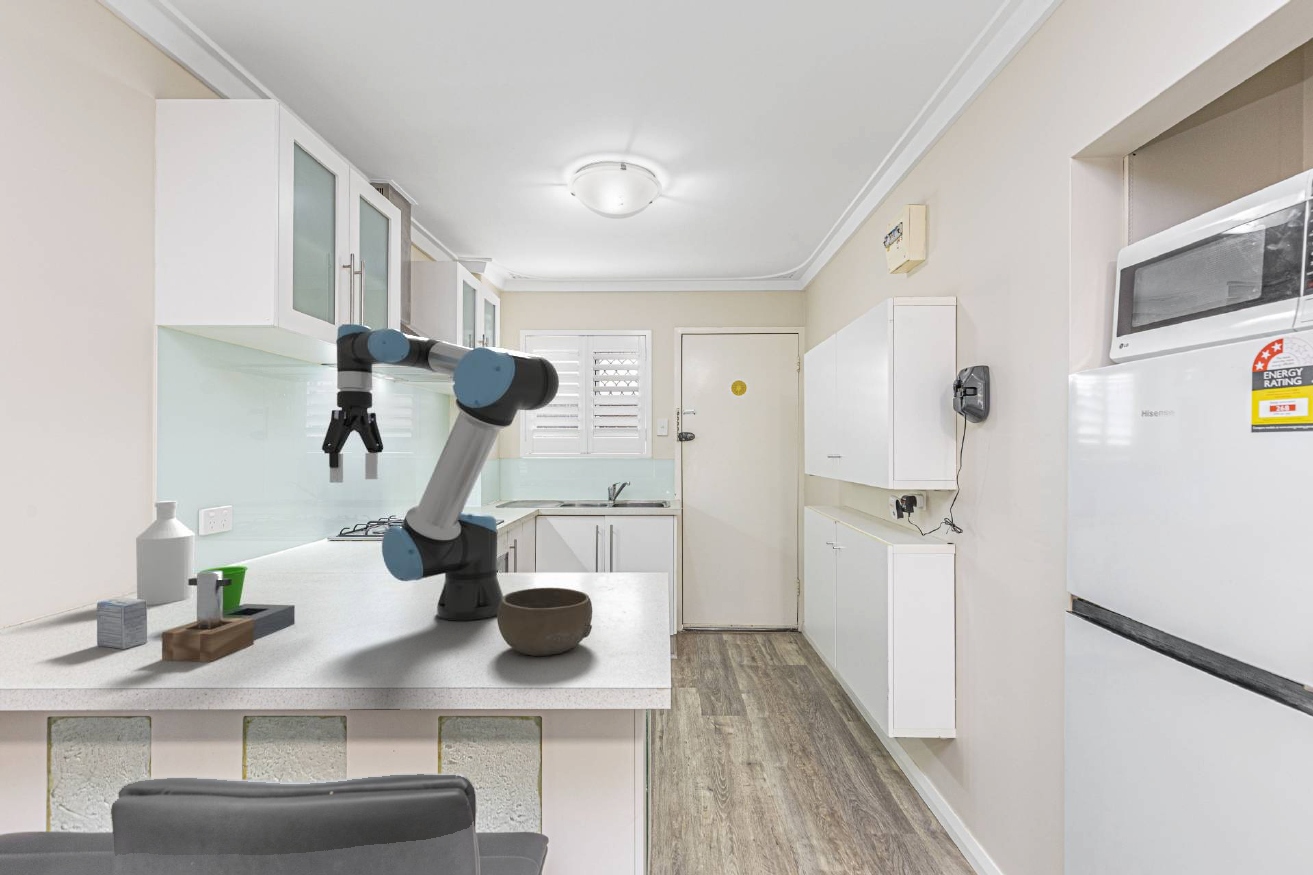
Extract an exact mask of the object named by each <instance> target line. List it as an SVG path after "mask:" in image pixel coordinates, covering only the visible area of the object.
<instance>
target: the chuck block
mask: <svg viewBox="0 0 1313 875" xmlns="http://www.w3.org/2000/svg"><path fill="white" fill-rule="evenodd" d="M295 608H296V606H295V605H294V604H264V603H262V604H259V603H243V604H240V605H239V606H237V607H234V608H231V609H228V610H224V611H223V618H248V619H254V641H256V640H257V639H261V638H263V637H265V636H267V635H269V634H272V633H275V632H277V631H280V630H282V629H284V628H287V627H289V626H292V625H295V622H296V620H295V618H296V617H295V616H296V615H295V614H296V613H295V612H296V611H295V610H296V609H295Z"/></svg>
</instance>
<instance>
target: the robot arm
mask: <svg viewBox="0 0 1313 875" xmlns="http://www.w3.org/2000/svg"><path fill="white" fill-rule="evenodd" d="M335 344H336V371H337V377H336V378H337V380H336V382H337V383H336V386H337V388H336V389H338V390H339V391H337V393H336V406H337V407H338V408H340V409H333V410H332V411H331V414H330V415H331V417H330V421H329V425H328V428H327V431H326V434H325V437H324V439H323V443H322V446H321V450H322V451H323V452H324V454H328V462H329V463H328V466H329V483H333V484H334V483H335V484H339V483H344V453H341V451H342V450H343V447H344V446H345V444H346V442H347V440H348V439H349V437H350V434H351V433H352V432H354V431H355V432H356V433H358V434H359V436H360V439H361V441H362V442H363V445H364V447H365V449H366V451H367V452H365V461H364V462H365V464H364V466H365V474H364V475H365V480H378V459H379V458H378V457H379V456H378V454H379V453H382V452H383V450H384V443H383V440H382V436H381V433H380V430H379V426H378V423H377V414H376V412H368V409H370V408H372V407H373V393H372V392H370V391H372V390H373V365H380V364H383V365H390V366H391V365H393V366H399V367H400V366H403V367H408V368H409V367H410V368H416V369H417V368H418V369H423V370H424V369H425V370H428V371H432V372H435V373H441V374H444V375H445V376H451V377H452V381H453V382H454V384H453V385H452V390H453V393H454V395H455V398H456V400H455V405H456V408H457V409H458V411H459V412H458V415H457V417H456V420H455V421H454V424H453V426H452V429H451V431H450V433H449V435H448V437H447V440H446V442H445V443H444V444H445V445H444V447H443V448H442V451H441V454H440V455H439V458H438V461H437V463H436V464H435V467H434V470H433V472H432V473H431V476H430V479H429V481H428V483H427V485H426V487H425V490H424V492H423V494H422V497H421V498H420V501H419V504H418V505H416V506H413V507H411V508H410V509H408V510H407V512H406V514H405V517H404V518H403V521H402V523H401V525H394V526H392V527H390V528H388V529H387V530H386V531H385V532H384V533H383V536H382V541H381V553H382V557H383V561H384V564H385V566H386V568H387V570H388V571H389V573H390V574H391V575H392V576H393V577H394V578H395V579H396V580H399V581H402V582H409V581H420V580H422V579H426V578H430V577H435V576H438V575H439V576H440V575H443V574H445V575H444V576H445V577H444V583H443V587H442V589H441V593H440V596H439V599H438V602H437V606H436V615H437V617H438V618H440V619H443V620H449V621H475V619H477V620H482V619H483V620H484V619H487V618H492V617H495V615H496V616H497V612H498V608H499V605H500V602H501V600H502V598H503V596H504V595H503V592H502V589H501V586H500V583H499V582H500V581H499V580H498V529H497V520H496V518H495V516H493V515H491V514H482V513H481V514H480V513H478V514H477V513H466V512H465V513H463V511H464V508H465V506H466V504H467V502H468V499H469V498H470V495H471V493H472V490H473V489H474V487H475V485H476V482H477V480H478V478H479V476H480V473H481V471H482V470H483V468H484V465H485V463H486V461H487V459H488V457H489V455H490V453H491V450H492V448H493V446H494V444H495V441H496V440H497V437H498V436H499V433H500V431H501V429H506V428H509V427H510V426H511V425H512V424H513V421H514V419H515V417H516V415H517V414H518V412H519V411H534V410H540V409H543V408H544V407H546V406H548V405H550V403H551V402H552V401H553V400H554V399H555V397H556V395H557V393H558V390H559V386H560V384H559V383H560V381H559V374H558V372H557V369H556V368H555V367H554V365H553V364H552V363H551V362H550V361H549V360H547V359H546V358H544V357H542V356H541V355H537V354H532V353H527V352H526V353H525V352H521V351H516V350H515V351H514V350H508V349H505V348H503V347H495V346H491V347H490V346H479V347H475V348H471V347H467V346H466V347H465V346H463V345H458V344H456V343H455V344H454V343H449V342H447V341H444V340H441V339H436V338H428V337H422V336H416V335H410V334H407V333H406V334H405V333H403V332H402V331H401V330H399V329H396V328H381V329H376V330H372V328H371V327H370V326H367V325H363V324H355V323H354V324H351V323H350V324H348V323H347V324H342V325H339V327H337V338H336V342H335Z"/></svg>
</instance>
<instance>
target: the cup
mask: <svg viewBox="0 0 1313 875" xmlns="http://www.w3.org/2000/svg"><path fill="white" fill-rule="evenodd" d="M248 569H249V568H248V567H247V566H244V565H243V566H242V565H234V566H233V565H231V566H221V567H214V568H213V567H212V568H208V569H203V570H201V571H200V572H205V571H214V570H221V571H223V578H228V579H231V585H229V586H223V611H224V610H228V609H231V608H234V607H237V606H240V605H241V599H242V592H243V588H244V583H245V577H246V571H247V570H248Z"/></svg>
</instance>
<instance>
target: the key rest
mask: <svg viewBox="0 0 1313 875" xmlns="http://www.w3.org/2000/svg"><path fill="white" fill-rule="evenodd" d="M254 643H255V640H254V619H248V618H223V626H220V627H218V628H215V629H212V630H198V629H197V620H196V621H193V622H189V623H186V624H183V625H180V626H177V627H174V628H172V629H168V630H163V631H162V632H161V660H163V661H186V662H189V661H190V662H208V663H209V662H211V663H212V662H214V661H217V660H219V659H221V658H224V657H226V656H229V655H231V654H233V653H236V652H238V651H241V650H243V649H246V648H248V647H251V646H253V645H254Z"/></svg>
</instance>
